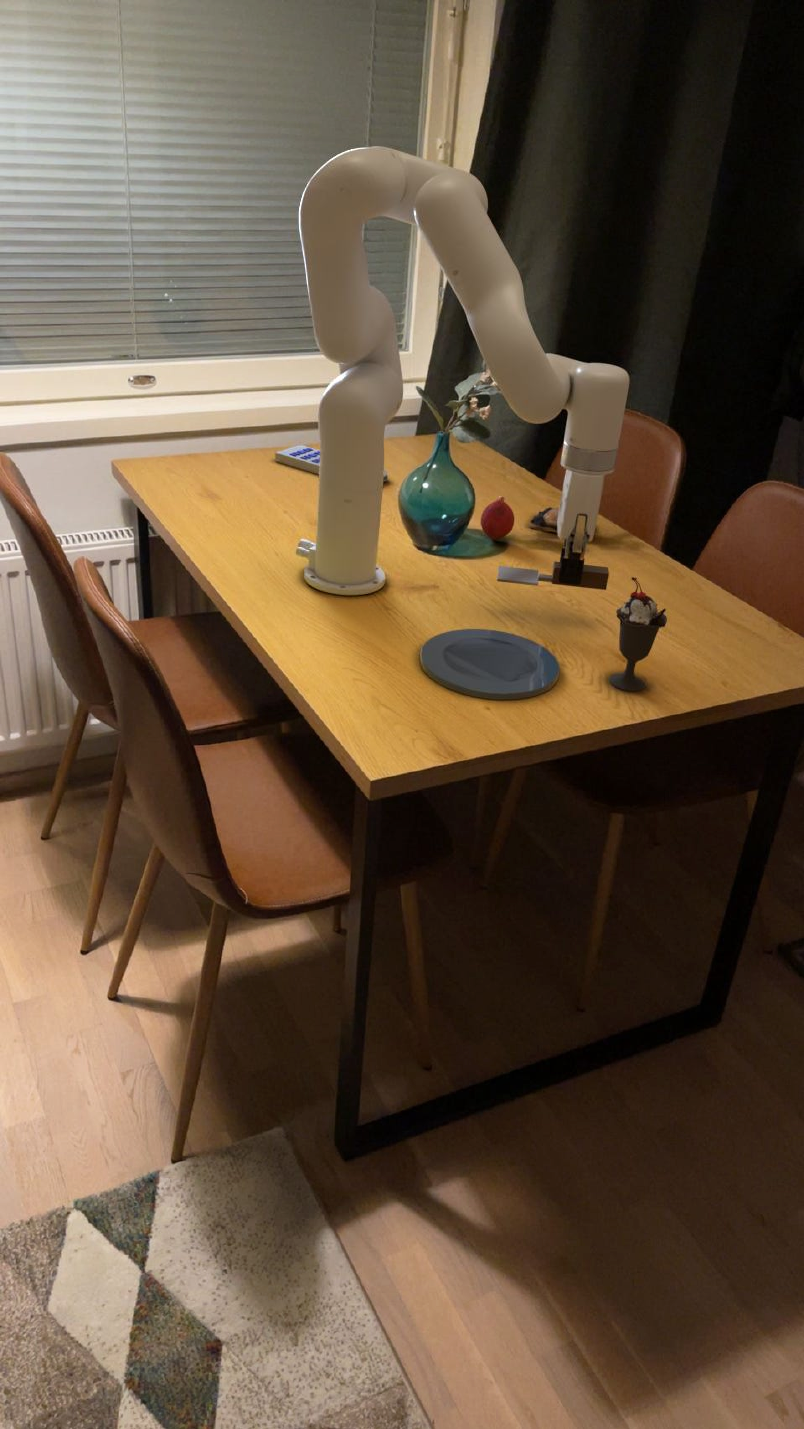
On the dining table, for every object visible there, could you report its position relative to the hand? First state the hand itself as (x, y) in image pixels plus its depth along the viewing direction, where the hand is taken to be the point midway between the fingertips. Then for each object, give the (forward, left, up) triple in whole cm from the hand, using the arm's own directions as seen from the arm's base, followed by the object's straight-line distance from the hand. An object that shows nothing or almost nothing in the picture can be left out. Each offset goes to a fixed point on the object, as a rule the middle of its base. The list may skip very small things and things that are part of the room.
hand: (569, 577), depth 166 cm
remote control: (-65, +33, -7) cm, 73 cm away
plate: (-2, -21, -7) cm, 22 cm away
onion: (-23, +22, -7) cm, 32 cm away
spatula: (-2, -1, -1) cm, 3 cm away
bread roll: (-17, +37, -7) cm, 41 cm away
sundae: (+15, -13, -7) cm, 21 cm away
